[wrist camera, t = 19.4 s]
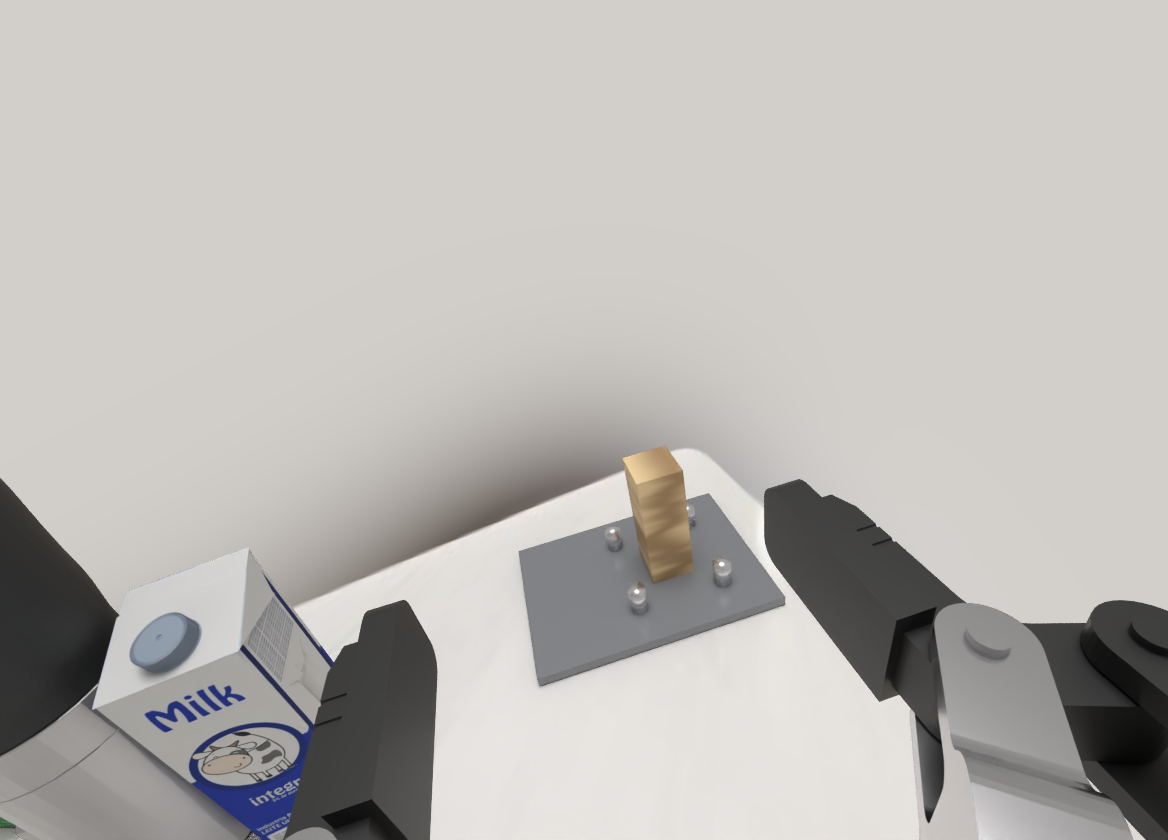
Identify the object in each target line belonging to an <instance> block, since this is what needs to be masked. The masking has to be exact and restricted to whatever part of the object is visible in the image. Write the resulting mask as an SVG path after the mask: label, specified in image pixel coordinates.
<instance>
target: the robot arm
mask: <svg viewBox="0 0 1168 840" xmlns="http://www.w3.org/2000/svg"><path fill="white" fill-rule="evenodd" d="M764 538H765V544H766V548H767V551H768V554H769V556H770V558H771V560H772V562H773V563H774V565H775V566H776V568H777V569H778V570H779V572H780V573H781V574H782V575H783V577H784V578H785V579H786V581H787V582H788V583H789V585H790V586H791V587H792V588H793V590H794V591H795V592H796V594H797V595H798V596H799V598H800V599H801V600H802V601H803V603H804V604H805V605H806V607H807V608H808V609H809V611H810V612H811V613H812V615H813V616H814V617H815V618H816V620H817V621H818V622H819V624H820V625H821V626H822V628H823V629H824V630H825V631H826V633H827V634H828V635H829V637H830V638H831V639H832V641H833V642H834V643H835V645H836V646H837V647H838V648H839V650H840V651H841V652H842V654H843V655H844V656H845V658H846V659H847V660H848V661H849V663H850V664H851V665H852V667H853V668H854V669H855V671H856V672H857V673H858V674H859V676H860V677H861V678H862V680H863V681H864V682H865V684H866V685H867V686H868V688H869V689H870V690H871V691H872V693H873V694H874V695H875V697H876V698H877V699H878V701H879V702H880V701H883V700H886V699H888V698H891V697H894V696H897V695H900V696H901V697H902V698H903V699H904V701H905V702H906V703H907V704H908V706H909V707H910V708H911V710H910V727H911V738H912V749H913V760H914V772H915V783H916V794H917V805H918V817H919V840H1133V837H1132V834H1131V832H1130V829H1129V827H1128V824H1127V822H1126V820H1125V818H1126V819H1127V820H1128V821H1129V822H1130V824H1131V825H1132V826H1133V827H1134V828H1135V829H1136V830H1137V831H1138V832H1139V833H1140V834H1141V835H1142V836H1143V837H1144V838H1145V839H1146V840H1168V611H1166V610H1164V609H1161V608H1158V607H1155V606H1152V605H1148V604H1144V603H1139V602H1134V601H1124V600H1118V601H1109V602H1104V603H1102V604H1100V605H1098V606H1097V607H1095V609H1094V610H1093V612H1092V613H1091V615H1090V617H1089V619H1088V621H1087V623H1051V624H1048V623H1047V624H1027V623H1020V622H1019V621H1018V620H1016V619H1015V618H1013V617H1011V616H1010V615H1008V614H1006V613H1004V612H1002V611H999V610H997V609H994V608H991V607H988V606H984V605H980V604H973V603H966V602H964V601H963V600H962V599H960V598H959V597H958V596H957V595H956V594H955V593H953V592H952V591H951V590H950V589H949V588H948V587H947V586H946V585H944V584H943V583H942V582H941V581H940V580H939V579H938V578H937V577H935V576H934V575H933V574H932V573H931V572H930V571H929V570H927V569H926V568H925V567H924V566H923V565H922V564H921V563H920V562H918V561H917V560H916V559H915V558H914V557H913V556H912V555H911V554H909V553H908V552H907V551H906V550H905V549H904V548H903V547H901V546H900V545H899V544H898V543H897V542H893V541H892V538H891V537H890V536H889V535H888V534H887V533H886V532H885V531H883V530H882V529H881V528H880V527H876V524H875V523H874V522H873V521H872V520H871V519H870V518H869V517H868V516H866V515H865V514H864V513H863V512H862V511H861V510H859V508H857V507H856V506H854V505H852V504H849V503H848V502H846V501H844V500H842V499H839V498H837V497H835V496H833V495H828V496H826V497H821V496H820V495H819V494H818V493H817V492H815V491H814V490H813V489H812V488H811V487H810V486H809V485H808V484H807V483H806V482H804V481H803V480H800V479H798V480H795V481H791V482H788V483H785V484H782V485H778V486H775V487H772V488H769V489H767V490H766V491H765V494H764ZM117 617H119V614H118V613H117V612H116V611H115V610H114V609H113V608H112V607H111V606H110V605H109V603H108V602H107V601H106V599H105V598H104V596H103V595H102V594H101V592H100V591H99V589H98V588H97V587H96V585H95V584H94V582H93V581H92V579H91V578H90V577H89V576H88V575H87V573H86V572H85V571H84V570H83V569H82V567H80V565H79V564H77V562H76V561H75V560H74V559H73V558H72V557H71V556H70V555H69V554H68V553H67V552H66V551H65V550H64V549H63V548H62V547H61V546H60V545H59V544H58V543H57V541H56V540H55V539H54V538H53V537H52V536H51V535H50V534H49V533H48V532H47V530H46V529H45V528H44V527H43V526H42V525H41V524H40V523H39V521H38V520H37V519H36V518H35V517H34V515H33V514H32V513H31V512H30V511H29V510H28V509H27V507H26V506H25V505H24V504H23V503H22V502H21V500H20V499H19V498H18V497H17V496H16V495H15V493H14V492H13V491H12V490H11V489H10V488H9V487H8V486H7V485H6V484H5V483H4V481H2V479H0V817H2V818H4V819H5V820H7V821H9V822H11V823H13V824H14V825H16V830H15V831H16V835H17V836H18V837H20V838H22V839H24V840H245V839H246V837H247V836H248V834H249V833H250V832H251V830H250V829H248V828H247V827H246V826H245V825H243V824H242V823H241V822H239V821H238V820H237V819H236V818H234V817H233V816H232V815H231V814H229V813H228V812H227V811H225V810H224V809H223V808H222V807H220V806H219V805H218V804H217V803H215V802H214V801H213V800H211V799H210V798H209V797H208V796H206V795H205V794H204V793H203V792H201V791H200V790H199V789H197V788H196V787H195V786H194V785H192V784H191V783H190V782H189V781H187V780H186V779H185V778H183V777H182V776H181V775H180V774H178V773H177V772H176V771H175V770H173V769H172V768H171V767H170V766H168V765H167V764H166V763H164V762H163V761H162V760H161V759H159V758H158V757H157V756H156V755H154V754H153V753H152V752H150V751H149V750H148V749H147V748H145V747H144V746H143V745H142V744H140V743H139V742H138V741H136V740H135V739H134V738H133V737H131V736H130V735H129V734H128V733H126V732H125V731H124V730H122V729H121V728H120V727H119V726H117V725H116V724H115V723H114V722H112V721H111V720H110V719H108V718H107V717H106V716H105V715H103V714H102V713H101V712H100V711H98V710H97V709H93V710H92V707H93V703H94V699H95V696H96V692H97V688H98V684H99V681H100V677H101V673H102V670H103V666H104V662H105V659H106V655H107V651H108V648H109V644H110V640H111V636H112V633H113V629H114V625H115V622H116V618H117ZM436 692H437V663H436V657H435V653H434V649H433V646H432V644H431V642H430V640H429V638H428V637H427V635H426V633H425V631H424V630H423V628H422V626H421V624H420V623H419V621H418V619H417V617H416V615H415V614H414V612H413V610H412V608H411V607H410V605H409V603H408V602H407V601H405V600H401V601H398V602H395V603H392V604H389V605H385V606H382V607H379V608H376V609H372V610H369V611H367V612H366V613H365V614H364V617H363V620H362V625H361V629H360V634H359V639H358V642H356V643H353V644H349V645H346V646H344V647H343V649H342V650H341V652H340V654H339V655H338V657H337V658H336V660H335V662H334V663H333V665H332V667H331V668H330V670H329V671H328V673H327V677H326V680H325V684H324V688H323V692H322V696H321V700H320V702H321V706H320V707H318V711H317V715H316V719H315V723H314V726H315V730H314V731H312V735H311V738H310V742H309V746H308V750H307V754H306V758H305V762H304V765H303V769H302V773H301V777H300V781H299V785H298V789H297V793H296V796H295V800H294V804H293V808H292V812H291V816H290V820H289V823H288V827H287V830H286V833H285V835H284V838H283V840H430V823H431V801H432V779H433V757H434V736H435V714H436ZM1087 778H1088V779H1089V780H1090V781H1091V782H1092V783H1093V784H1094V785H1095V786H1096V787H1097V789H1099V791H1100V792H1101V793H1100V792H1097V791H1095V790H1094V789H1093V788H1092V787H1091V785H1090V783H1089V781H1088V779H1087ZM1124 817H1125V818H1124Z"/></svg>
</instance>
